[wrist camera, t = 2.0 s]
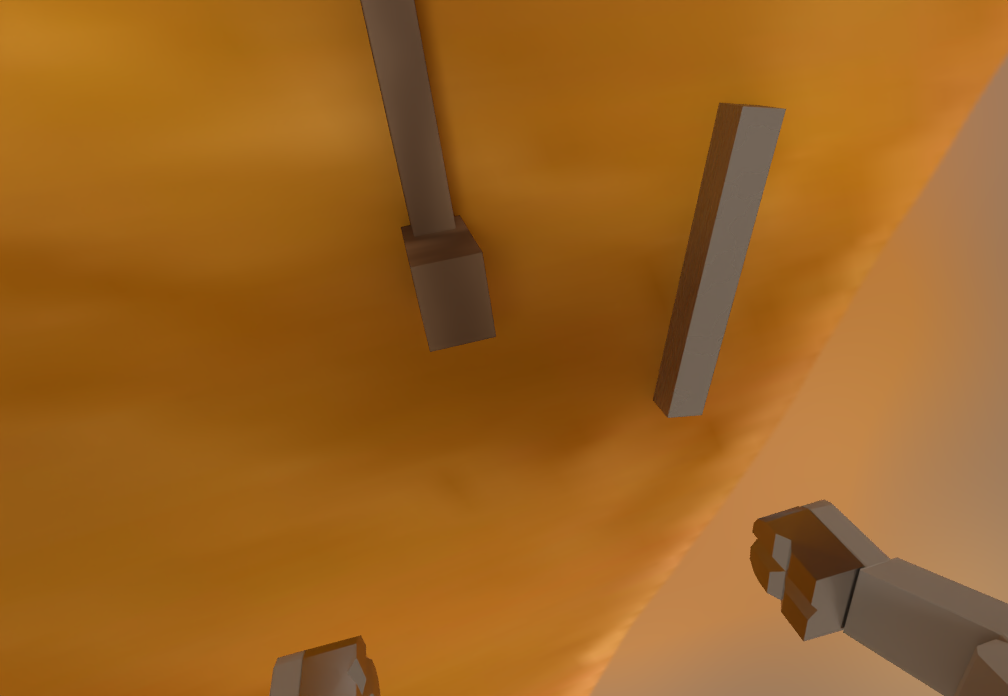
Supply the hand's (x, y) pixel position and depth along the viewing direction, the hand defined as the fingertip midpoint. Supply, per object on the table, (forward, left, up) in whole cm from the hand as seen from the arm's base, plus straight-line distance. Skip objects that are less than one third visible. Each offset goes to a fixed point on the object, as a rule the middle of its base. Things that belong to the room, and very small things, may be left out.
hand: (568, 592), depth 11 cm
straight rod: (+15, -4, -21) cm, 26 cm away
